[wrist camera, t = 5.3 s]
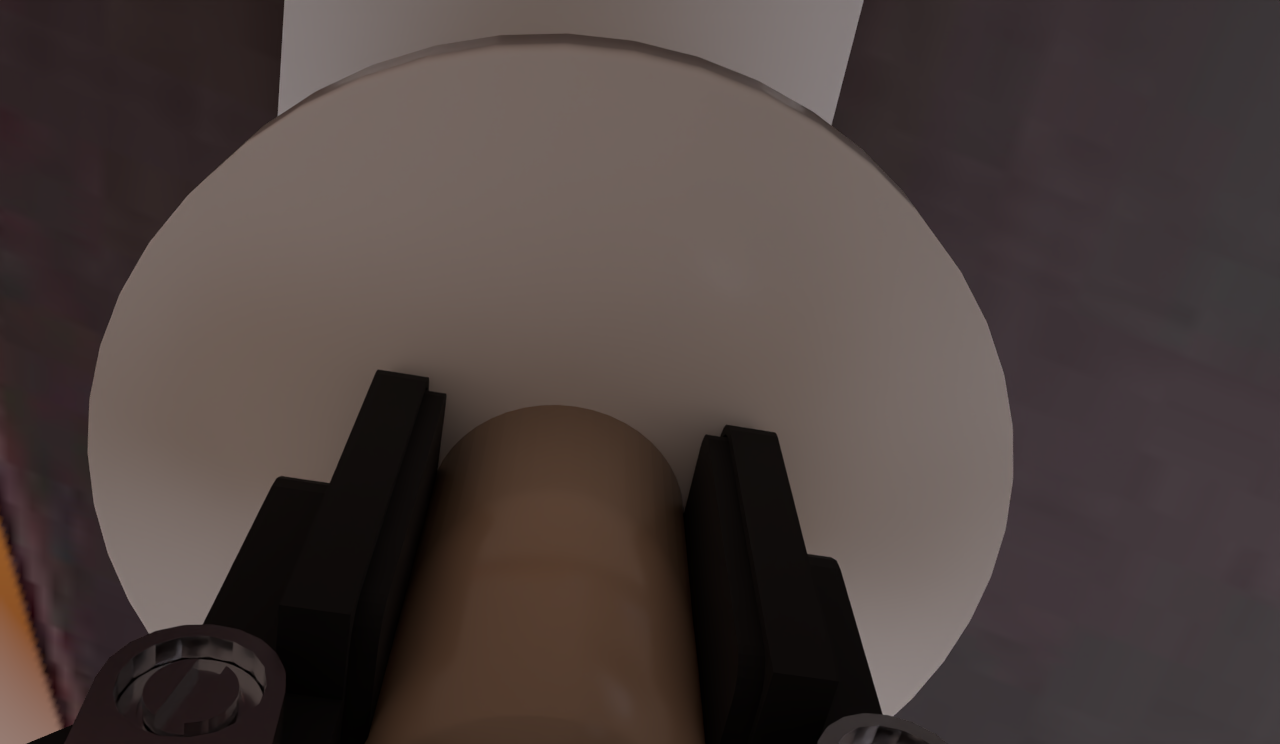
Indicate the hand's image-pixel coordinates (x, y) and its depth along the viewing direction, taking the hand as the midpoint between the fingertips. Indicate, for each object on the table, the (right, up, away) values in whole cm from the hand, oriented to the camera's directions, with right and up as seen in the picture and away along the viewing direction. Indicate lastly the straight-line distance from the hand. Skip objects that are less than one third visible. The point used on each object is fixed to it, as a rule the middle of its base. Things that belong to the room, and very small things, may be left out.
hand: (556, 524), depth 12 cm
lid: (0, +1, +1) cm, 1 cm away
